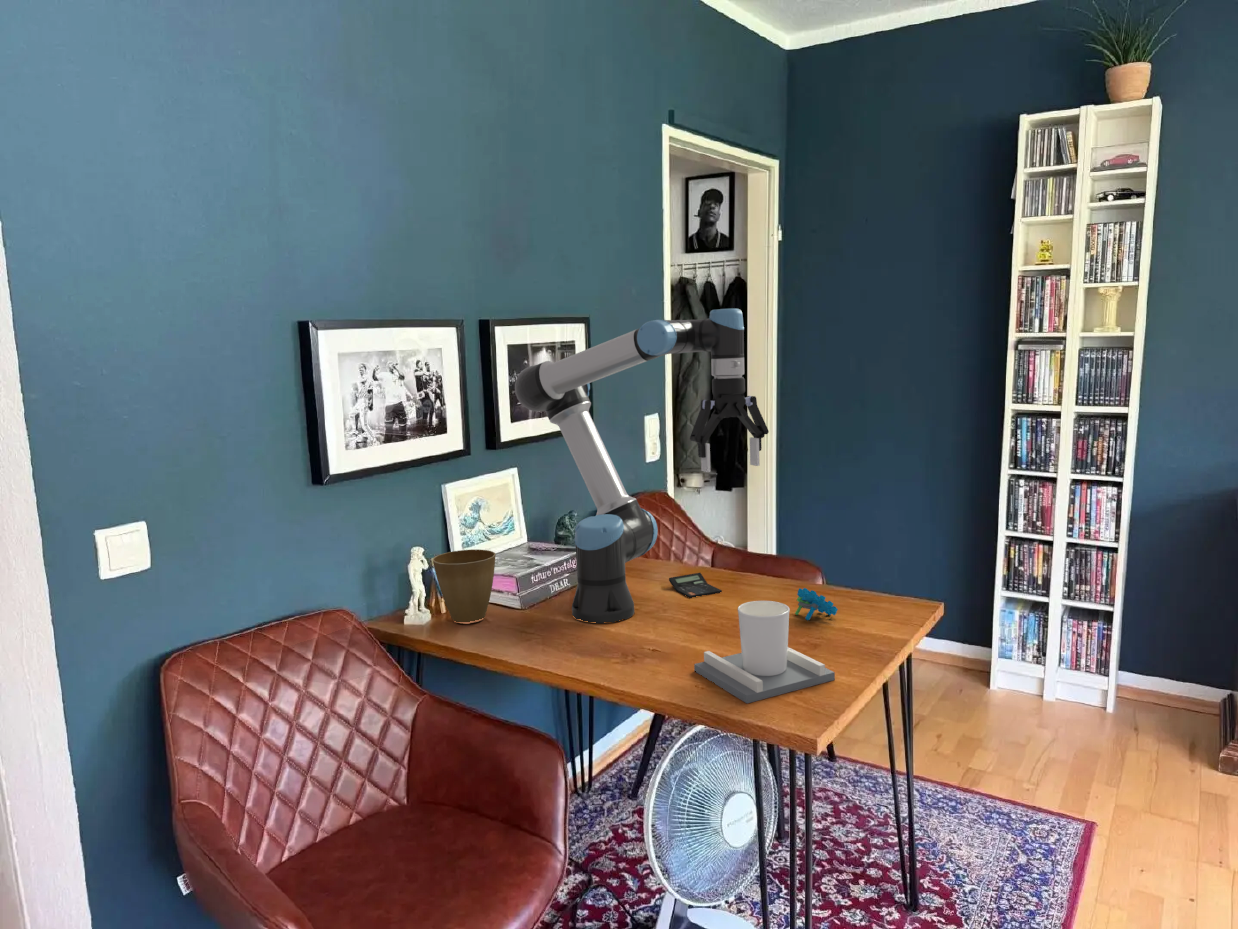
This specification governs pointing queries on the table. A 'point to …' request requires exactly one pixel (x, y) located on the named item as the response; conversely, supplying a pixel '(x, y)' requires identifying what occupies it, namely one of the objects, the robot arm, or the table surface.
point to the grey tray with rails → (756, 687)
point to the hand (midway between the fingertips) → (730, 468)
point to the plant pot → (466, 582)
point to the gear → (814, 603)
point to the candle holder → (764, 637)
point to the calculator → (693, 585)
